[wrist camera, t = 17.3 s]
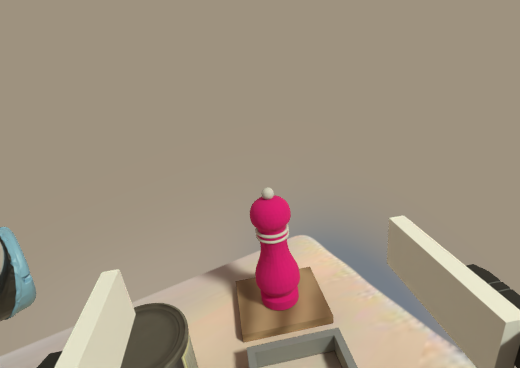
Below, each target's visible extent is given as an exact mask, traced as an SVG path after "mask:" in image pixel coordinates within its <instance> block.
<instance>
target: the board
mask: <svg viewBox="0 0 520 368" xmlns="http://www.w3.org/2000/svg"><path fill="white" fill-rule="evenodd" d="M299 272H300V281H299V284H298V285H297V286H298V292H299V298H298V301H297V303H296V304H295V305H294V306H292V307H291V308H289V309H286V310H281V311H277V310H272V309H270V308H268V307H266V306H265V305H264V304H263V302H262V298H261V290H260V288H259V287H258V286H257V283H256V278H251V279H246V280H241V281H236V287H237V295H238V304H239V312H240V321H241V330H242V337H243V342H248V341H253V340H257V339H262V338H266V337H271V336H276V335H280V334H285V333H289V332H294V331H299V330H303V329H308V328H313V327H317V326H322V325H326V324H331V323H333V314H332V312H331V310H330V308H329V306H328V304H327V302H326V300H325V298H324V296H323V293H322V291H321V289H320V287H319V285H318V283H317V281H316V279H315V277H314V275H313V273H312V270H311V268H310V267H306V268H301V269H299Z"/></svg>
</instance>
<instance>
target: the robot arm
mask: <svg viewBox="0 0 520 368" xmlns="http://www.w3.org/2000/svg"><path fill="white" fill-rule="evenodd" d="M387 264H388V265H389V266H390V267H391V268H392V270H393V271H394V272H395V273H396V274H397V275H398V277H399V278H400V279H401V280H402V281H403V282H404V284H405V285H406V286H407V287H408V288H409V289H410V291H411V292H412V293H413V294H414V295H415V296H416V298H417V299H418V300H419V301H420V302H421V303H422V304H423V306H424V307H425V308H426V309H427V310H428V311H429V313H431V315H432V316H433V317H434V318H435V320H436V321H437V322H438V323H439V324H440V325H441V326H442V328H443V329H444V330H445V331H446V332H447V333H448V335H449V336H450V337H451V338H452V339H453V340H454V341H455V343H456V344H457V345H458V346H459V347H460V348H461V350H462V351H463V352H464V353H465V354H466V355H467V357H468V358H469V359H470V360H471V361H472V362H473V364H474V365H475V366H476V367H477V368H514V366H516V367H517V368H520V295H518V294H517V293H516V292H515V291H513V290H511V289H510V288H509V287H508V286H507V285H505V284H504V283H503V282H500V280H499V279H498V278H497V277H495V276H494V275H493V274H491V273H490V272H489V271H487V270H485V269H483V268H480V267H478V266H476V265H474V264H472V265H467V266H465V265H464V264H463V263H461V262H460V261H459V260H458V259H457V258H455V257H454V256H453V255H452V254H450V253H449V252H448V251H447V250H446V249H444V248H443V247H442V246H441V245H439V244H438V243H437V242H436V241H434V240H433V239H432V238H431V237H430V236H428V235H427V234H426V233H425V232H423V231H422V230H421V229H420V228H418V227H417V226H416V225H415V224H414V223H412V222H411V221H410V220H409V219H407V218H406V217H405V216H398V217H393V218H389V230H388V249H387ZM35 298H36V289H35V285H34V282H33V279H32V277H31V275H30V271H29V268H28V264H27V262H26V259H25V257H24V255H23V252H22V250H21V248H20V245H19V243H18V241H17V239H16V237H15V235H14V234H13V232H12V231H11V230H10V229H9V228H7V227H0V321H2V320H6V319H8V318H11V317H13V316H14V315H15V314H16V313H18V312H19V311H21V310H23V309H25V308H27V307H28V306H30V305H31V304H32V303H33V302H34V300H35ZM135 315H136V313H135V311H134V308H133V305H132V302H131V300H130V297H129V294H128V292H127V289H126V286H125V284H124V281H123V278H122V275H121V273H120V270H119V269H117V270H112V271H106V272H102V273H101V275H100V277H99V279H98V281H97V283H96V285H95V287H94V289H93V291H92V293H91V295H90V297H89V299H88V301H87V304H86V305H85V307H84V310H83V311H82V313H81V315H80V318H79V320H78V321H77V323H76V325H75V327H74V329H73V331H72V333H71V335H70V337H69V339H68V341H67V343H66V345H65V347H64V349H63V351H60V352H55V353H50V354H49V355H48V356H47V357H46V358H45V359H44V360H43V361H42V363H41V364H40V365H39V366H38V367H37V368H120V367H121V364H122V360H123V357H124V353H125V350H126V346H127V343H128V339H129V336H130V332H131V329H132V325H133V322H134V318H135Z"/></svg>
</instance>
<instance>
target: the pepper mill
mask: <svg viewBox="0 0 520 368" xmlns="http://www.w3.org/2000/svg"><path fill="white" fill-rule="evenodd" d="M290 216H291V215H290V208H289V205H288V203H287V202H286V201H285V200H284V199H282V198H281V197H279V196H274V192H273V190H272V189H271V188H265V189H263V191H262V197H261V198H259V199H257V200H256V201H255V202H254V203H253V204H252V206H251V210H250V219H251V222H252V224H253V225H254V226H255V227H256V229H255V231H256V237H257V239H258V240H259V241H260V244H261V253H260V258H259V261H258V264H257V267H256V272H255V275H256V283H257V286H258V287H259V288H260V290H261V298H262V302H263V304H264V305H265V306H266V307H268V308H270V309H272V310H277V311H281V310H286V309H289V308H291V307H292V306H294V305H295V304H296V303H297V301H298V298H299V292H298V286H297V285H298V284H299V281H300V272H299V268H298V265H297V263H296V261H295V260H294V258H293V256H292V255H291V253H290V251H289V249H288V245H287V237H288V236H289V230H288V229H289V228H288V224H287V223H288V222H289V220H290Z"/></svg>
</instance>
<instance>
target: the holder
mask: <svg viewBox="0 0 520 368" xmlns="http://www.w3.org/2000/svg"><path fill="white" fill-rule="evenodd" d="M330 351H335V352H336V354H337V357H338V359H339V361H340V364H341V366H342V368H357V365H356V363H355V361H354V359H353V357H352V355H351V353H350V351H349V349H348V347H347V344H346V342H345V340H344V338H343V336H342V334H341V332H340V330H339V328H335V329H330V330H325V331H321V332H316V333H312V334H307V335H303V336H298V337H293V338H289V339H284V340H280V341H275V342H270V343H266V344H261V345H257V346H252V347H248V348H247V354H248V362H249V368H259V367H264V366H268V365H272V364H277V363H281V362H286V361H290V360H295V359H299V358H304V357H308V356H312V355H317V354H321V353H326V352H330Z"/></svg>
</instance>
